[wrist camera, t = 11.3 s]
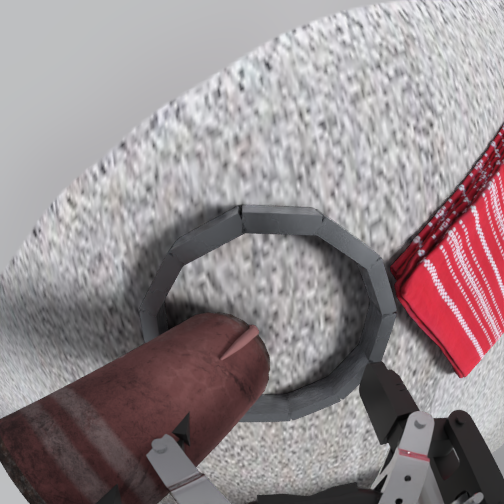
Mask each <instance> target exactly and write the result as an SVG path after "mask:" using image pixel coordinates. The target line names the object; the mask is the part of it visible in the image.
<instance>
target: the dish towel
mask: <svg viewBox="0 0 504 504" xmlns="http://www.w3.org/2000/svg"><path fill="white" fill-rule="evenodd" d="M390 271H391V273H392V274H393V276H394V277H395V279H396V280H397V281H396V283H395V285H394V288H395V291H396V296H397V298H398V300H399V301H400V303H401V304H402V306H403V307H404V308H405V310H406V311H407V313H408V314H409V315H410V317H411V318H412V319H413V320H414V321H415V322H416V323H417V325H418V326H419V327H420V328H421V329H422V330H423V331H424V332H425V333H426V334H427V335H428V336H429V337H430V338H431V339H432V340H433V341H434V342H435V343H436V344H437V345H438V346H439V347H440V349H441V350H442V352H443V353H444V355H445V356H446V357H447V359H448V360H449V361H450V363H451V364H452V366H453V368H454V371H455V373H456V374H457V375H458V377H459V378H463V377H466V376H467V375H468V374H469V373H470V372H471V371H472V369H473V368H474V367H475V366H476V365H477V364H478V363H479V361H480V360H481V359H482V358H483V357H484V355H485V354H486V353H487V352H488V350H489V349H490V348H491V347H492V346H493V345H494V344H495V343H496V342H497V341H498V339H499V338H500V337H501V335H502V334H503V333H504V125H503V126H502V128H501V130H500V131H499V133H498V134H497V136H496V137H495V139H494V140H493V141H492V142H491V144H490V146H489V148H488V150H487V151H486V152H485V154H484V155H483V157H482V158H481V159H480V160H479V161H478V162H477V163H476V165H475V167H474V168H473V170H472V171H471V172H470V174H469V175H468V176H467V177H466V179H465V180H464V181H463V182H462V184H461V185H460V186H459V187H458V189H457V191H456V192H455V193H454V194H453V195H452V196H451V197H450V198H449V199H448V201H447V202H446V203H445V204H444V205H443V206H442V208H441V209H440V210H438V211H437V213H436V214H435V215H434V217H433V218H432V220H431V221H430V222H429V223H428V224H427V225H426V226H425V228H424V229H423V230H422V231H421V232H420V233H419V234H418V235H417V236H416V237H415V238H414V240H413V241H412V243H411V244H410V245H409V247H408V248H407V249H406V251H405V252H404V253H403V254H402V255H401V256H400V257H399V258H398V259H397V260H396V261H395V262H394V263H393V264H392V265H391V267H390Z"/></svg>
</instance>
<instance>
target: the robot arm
mask: <svg viewBox="0 0 504 504" xmlns="http://www.w3.org/2000/svg"><path fill="white" fill-rule="evenodd" d="M359 393H360V397H361V399H362V401H363V404H364V406H365V408H366V411H367V413H368V415H369V418H370V420H371V423H372V425H373V427H374V430H375V432H376V435H377V437H378V440H379V442H380V445H383V444H386V443H389V445H390V448H389V449H388V452H387V454H386V457H385V459H384V462H383V464H382V466H381V469H380V471H379V473H378V475H377V477H376V479H375V481H374V483H373V484H372V486H371V487H370V489H369V488H363V487H357V483H356V482H354V483H350V484H345V485H340V486H335V487H332V488H329V489H327V490H325V491H322V492H319V493H317V494H314V495H311V496H300V495H289V494H273V495H257V500H256V501H252V502H249V503H246V504H504V479H503V476H502V474H501V472H500V470H499V468H498V466H497V464H496V462H495V460H494V458H493V456H492V454H491V452H490V450H489V448H488V446H487V445H486V443H485V441H484V439H483V437H482V435H481V434H480V432H479V430H478V428H477V427H476V425H475V423H474V421H473V420H472V418H471V416H470V415H469V414H468V413H467V412H465V411H462V410H456V411H453V412H452V413H451V414H450V415H449V417H448V418H433V417H432V416H431V415H430V414H428V413H427V412H424V411H420V410H419V409H418V407H417V405H416V403H415V402H414V400H413V398H412V396H411V395H410V393H409V391H408V390H407V388H406V386H405V385H404V384H403V381H402V380H401V378H400V376H399V375H398V374H396V373H395V372H394V371H393V370H388V369H387V368H386V366H385V364H384V363H383V362H382V361H380V362H374V363H368V364H367V365H366V367H365V370H364V373H363V376H362V379H361V382H360V386H359ZM189 417H190V411H189V412H188V414H187V415H186V416H185V417H184V418H183V420H182V421H181V422H180V423H179V424H178V425H177V427H176V428H175V429H174V430H173V431H172V432H171V433H173V434H174V435H175V436H177V437H178V438H179V441H178V442H176V441H175V440H174V439H173V438H172V437H171V436H169V435H167V434H165V435H164V436H163V437H162V438H161V439H155V440H153V441H152V444H151V445H152V449H151V451H150V452H149V453H148V454H147V455H146V456H147V458H148V459H149V461H150V463H151V464H152V466H153V468H154V469H155V471H156V472H157V474H158V475H159V477H160V478H161V480H162V481H163V483H164V484H165V485H166V487H167V489H168V491H169V492H170V494H171V495H172V496H173V498H174V499H175V500H176V502H177V503H178V504H231V503H230V502H229V501H228V500H227V499H226V497H225V496H224V495H223V494H222V493H221V492H220V491H219V490H218V489H217V488H216V487H215V486H214V484H213V483H212V482H211V481H210V480H209V479H208V478H207V477H206V476H205V475H204V474H202V473H200V472H199V471H198V469H197V468H196V467H195V466H194V465H193V463H192V462H191V461H190V459H189V458H188V457H187V456H186V454H185V451H184V443H186V444H187V445H188V446H190V423H189ZM95 504H122V503H121V497H120V492H119V487H118V483H117V484H116V485H115V486H114V487H113V488H112V489H111V490H110V491H109V492H108V493H106V494H105V495H104V496H103V497H102V498H101V499H100V500H99V501H98V502H96V503H95Z"/></svg>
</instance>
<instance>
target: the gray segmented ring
mask: <svg viewBox="0 0 504 504" xmlns="http://www.w3.org/2000/svg"><path fill="white" fill-rule="evenodd" d="M245 233H256V234H288V235H315V236H319V237H320V238H322V239H323V240H325V241H326V242H328V243H329V244H331V245H332V246H334V247H335V248H337V249H338V250H340V251H341V252H343V253H344V254H345V255H347V256H348V257H350V258H351V259H353V260H354V261H356V262H357V265H358V268H359V270H360V273H361V276H362V278H363V281H364V284H365V287H366V290H367V292H368V295H369V298H370V304H369V308H368V313H367V317H366V320H365V324H364V328H363V332H362V335H361V339H360V343H359V344H358V346H357V347H356V348H355V349H354V350H353V351H352V352H351V353H350V354H349V355H348V356H347V358H346V359H345V360H344V361H343V362H342V363H341V364H340V365H339V366H338V367H337V368H336V369H335V370H334V371H333V372H332V373H331V374H330V375H329V376H328V377H326V378H324V379H321V380H319V381H317V382H315V383H312V384H310V385H308V386H305V387H303V388H300V389H298V390H295V391H293V392H290V393H288V394H275V395H261V396H260V397H259V398H258V399H257V401H256V402H255V403H254V404H253V405H252V407H251V408H250V409H249V410H248V411H247V412H246V414H245V415H244V416H243V417H242V418H241V419H240V421H239V422H279V421H290V418H291V419H292V420H295V419H298V418H301V417H303V416H306V415H309V414H311V413H314V412H316V411H319V410H321V409H323V408H326V407H328V406H331V405H333V404H335V403H337V402H340V401H341V400H340V399H344V398H345V397H346V396H348V395H349V394H350V393H351V392H352V391H353V390H354V389H355V388H356V387H357V386H358V385H359V384H360V382H361V379H362V376H363V373H364V370H365V367H366V365H367V364H368V363H374V362H380V361H381V360H382V358H383V355H384V352H385V349H386V346H387V343H388V340H389V337H390V334H391V331H392V328H393V325H394V321H395V318H396V315H397V313H396V312H395V311H397V308H396V305H395V301H394V297H393V294H392V290H391V287H390V283H389V280H388V277H387V273H386V270H385V267H384V264H383V260H382V258H381V257H379V256H380V255H378V254H377V253H376V252H375V251H374V250H372V249H371V248H370V247H369V246H367V245H366V244H365V243H364V242H362V241H361V240H359V239H358V238H357V237H355V236H354V235H353V234H351V233H350V232H348V231H347V230H346V229H344V228H343V227H341V226H340V225H339V224H337V223H336V222H334V221H333V220H332V219H330V218H329V217H327V216H326V215H324V214H323V213H321V212H320V211H319V210H317V209H316V210H315V209H314V208H308V207H289V206H265V205H242V211H241V209H240V208H239V206H237V207H235V208H233V209H231V210H229V211H228V212H226V213H224V214H222V215H220V216H218V217H217V218H215V219H213V220H211V221H209V222H207V223H206V224H204V225H202V226H200V227H198V228H197V229H195V230H193V231H191V232H189V233H188V234H186V235H184V236H182V237H181V238H179V239H178V240H177V241H176V242H175V243H174V245H173V246H172V247H171V249H170V250H169V252H168V253H167V255H166V257H165V258H164V260H163V262H162V264H161V266H160V268H159V270H158V272H157V274H156V276H155V278H154V280H153V282H152V284H151V286H150V288H149V290H148V292H147V294H146V296H145V298H144V300H143V302H142V305H141V307H140V311H139V314H140V320H141V326H142V331H143V337H144V342H145V343H147V342H148V341H150V340H152V339H154V338H156V337H157V336H159V335H161V334H163V333H165V332H166V331H168V324H167V316H166V308H165V298H166V296H167V294H168V292H169V291H170V289H171V287H172V285H173V283H174V282H175V280H176V278H177V276H178V274H179V272H180V271H181V269H182V267H183V266H184V265H186V264H188V263H189V262H191V261H193V260H195V259H197V258H199V257H201V256H203V255H205V254H206V253H208V252H210V251H212V250H214V249H216V248H218V247H220V246H222V245H223V244H225V243H227V242H229V241H231V240H233V239H235V238H237V237H239V236H241V235H243V234H245Z"/></svg>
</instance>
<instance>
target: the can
mask: <svg viewBox="0 0 504 504" xmlns="http://www.w3.org/2000/svg"><path fill="white" fill-rule="evenodd" d="M258 334H259V330H258V328H257V327H256V326H255V325H248V324H247V323H245V322H244V321H243V320H241V319H239V318H237V317H235V316H233V315H230V314H224V313H209V312H207V313H202V314H197V315H194V316H193V317H191V318H189V319H187V320H186V321H184V322H182V323H180V324H179V325H177V326H175V327H173V328H172V329H170V330H168V331H166V332H165V333H163V334H161V335H159V336H157V337H156V338H154V339H152V340H150V341H148V342H147V343H145V344H143V345H141V346H139V347H138V348H136V349H134V350H132V351H130V352H129V353H127V354H125V355H123V356H121V357H119V358H118V359H116V360H114V361H112V362H110V363H108V364H107V365H105V366H103V367H101V368H99V369H97V370H95V371H93V372H92V373H90V374H88V375H86V376H84V377H82V378H80V379H78V380H76V381H75V382H73V383H71V384H69V385H67V386H65V387H63V388H61V389H59V390H57V391H55V392H53V393H51V394H50V395H48V396H46V397H44V398H42V399H40V400H38V401H36V402H34V403H32V404H30V405H28V406H26V407H24V408H22V409H20V410H18V411H16V412H14V413H12V414H10V415H8V416H5V417H3V418H1V419H0V462H1V463H2V465H3V467H4V468H5V470H6V472H7V473H8V475H9V477H10V478H11V480H12V481H13V482H14V484H15V485H16V487H17V488H18V489H19V491H20V492H21V493H22V495H23V496H24V497H25V499H26V500H27V501H28V502H29V503H30V504H95V503H96V502H98V501H99V500H100V499H101V498H102V497H103V496H104V495H105V494H106V493H108V492H109V491H110V490H111V489H112V488H113V487H114V486H115V485H116V484H117V483H118V487H119V492H120V497H121V503H122V504H157V503H158V502H160V501H161V500H162V499H163V498H164V497H165V496H166V495H167V494H168V493H170V492H169V491H168V489H167V487H166V485H165V484H164V483H163V481H162V480H161V478H160V477H159V475H158V474H157V472H156V471H155V469H154V468H153V466H152V464H151V463H150V461H149V459H148V458H147V456H146V455H147V454H148V453H149V452H150V451H151V449H152V445H151V444H152V441H153V440H155V439H161V438H162V437H163V436H164V435H165V434H167V435H169V436H171V437H172V438H173V439H174V440H175V441H176V442H178V441H179V438H178V437H177V436H175V435H174V434H173V433H171V432H172V431H173V430H174V429H175V428H176V427H177V425H178V424H179V423H180V422H181V421H182V420H183V418H184V417H185V416H186V415H187V414H188V412H189V411H190V417H189V423H190V446H188V445H187V444H186V443H184V451H185V454H186V456H187V457H188V458H189V459H190V461H191V462H192V463H193V465H194V466H195V467H197V466H198V465H199V464H200V463H201V462H202V461H203V459H204V458H205V457H206V456H207V455H208V454H209V453H210V452H211V451H212V450H213V449H214V448H215V447H216V446H217V445H218V444H219V443H220V442H221V441H222V439H223V438H224V437H225V436H226V435H227V434H228V433H229V432H230V431H231V430H232V428H233V427H234V426H235V425H236V424H237V423H238V422H239V421H240V419H241V418H242V417H243V416H244V415H245V414H246V412H247V411H248V410H249V409H250V408H251V407H252V405H253V404H254V403H255V402H256V401H257V399H258V398H259V397H260V396H261V395H262V393H263V392H264V391H265V388H266V386H267V383H268V380H269V371H270V357H269V354H268V352H267V349H266V346H265V344H264V342H263V341H262V340H261V338H260V337H259V335H258Z"/></svg>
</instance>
